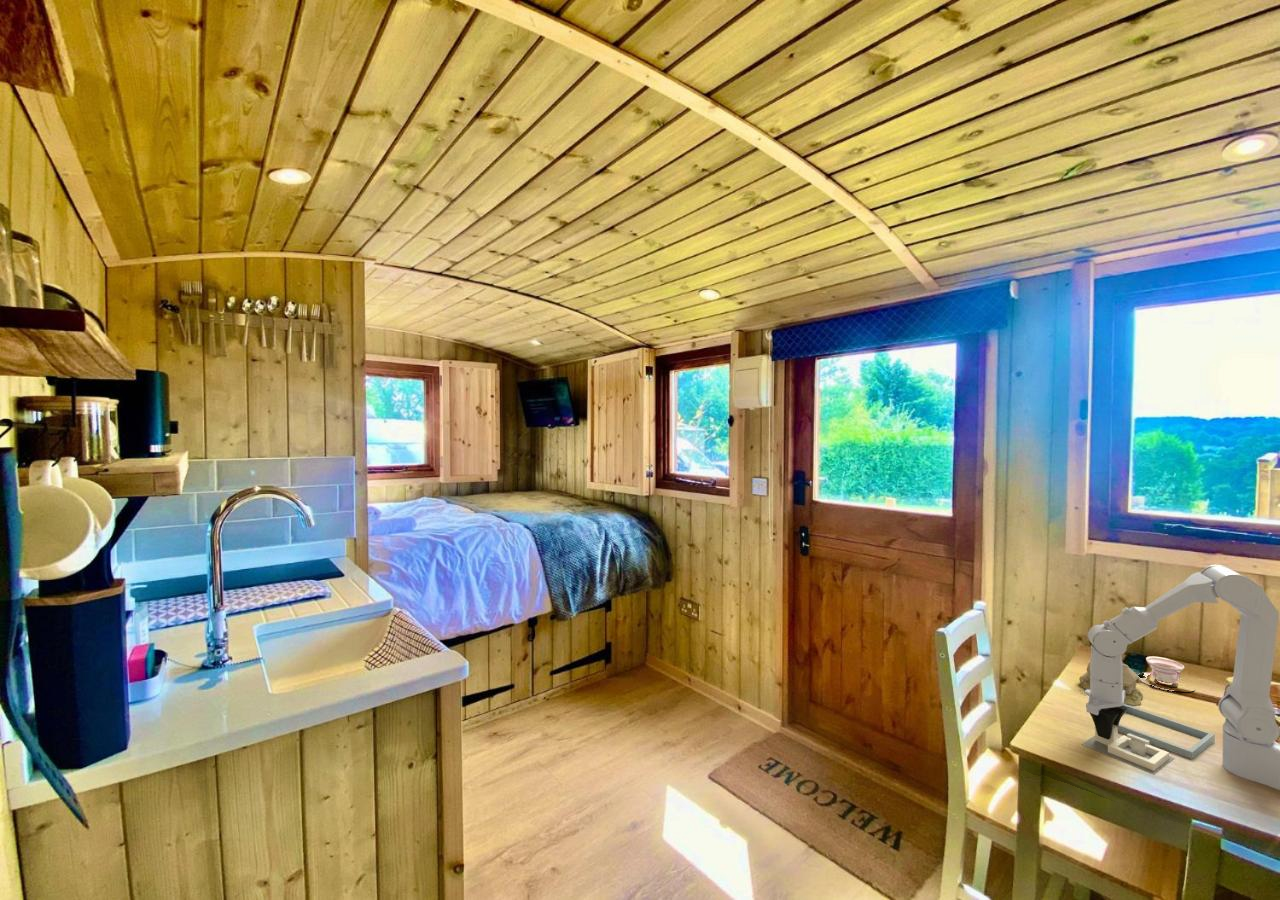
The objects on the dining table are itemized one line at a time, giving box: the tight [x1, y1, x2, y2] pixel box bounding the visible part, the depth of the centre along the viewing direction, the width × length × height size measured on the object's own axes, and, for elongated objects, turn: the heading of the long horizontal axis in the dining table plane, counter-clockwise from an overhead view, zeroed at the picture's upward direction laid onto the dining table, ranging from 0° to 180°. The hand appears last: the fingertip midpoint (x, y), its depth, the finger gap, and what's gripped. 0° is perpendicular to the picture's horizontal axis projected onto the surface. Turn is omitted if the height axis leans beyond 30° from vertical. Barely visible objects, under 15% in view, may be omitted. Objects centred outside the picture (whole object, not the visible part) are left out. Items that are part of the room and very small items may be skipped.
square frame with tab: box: [1094, 725, 1170, 771], centre depth 123 cm, size 12×8×4 cm
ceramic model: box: [1079, 661, 1144, 706], centre depth 151 cm, size 14×11×10 cm
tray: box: [1118, 704, 1216, 760], centre depth 130 cm, size 17×14×2 cm
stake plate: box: [1080, 733, 1175, 775], centre depth 123 cm, size 13×11×5 cm
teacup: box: [1140, 655, 1185, 692], centre depth 156 cm, size 12×12×6 cm
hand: (1106, 735), depth 126 cm, fingers closed on square frame with tab, 2 cm apart
